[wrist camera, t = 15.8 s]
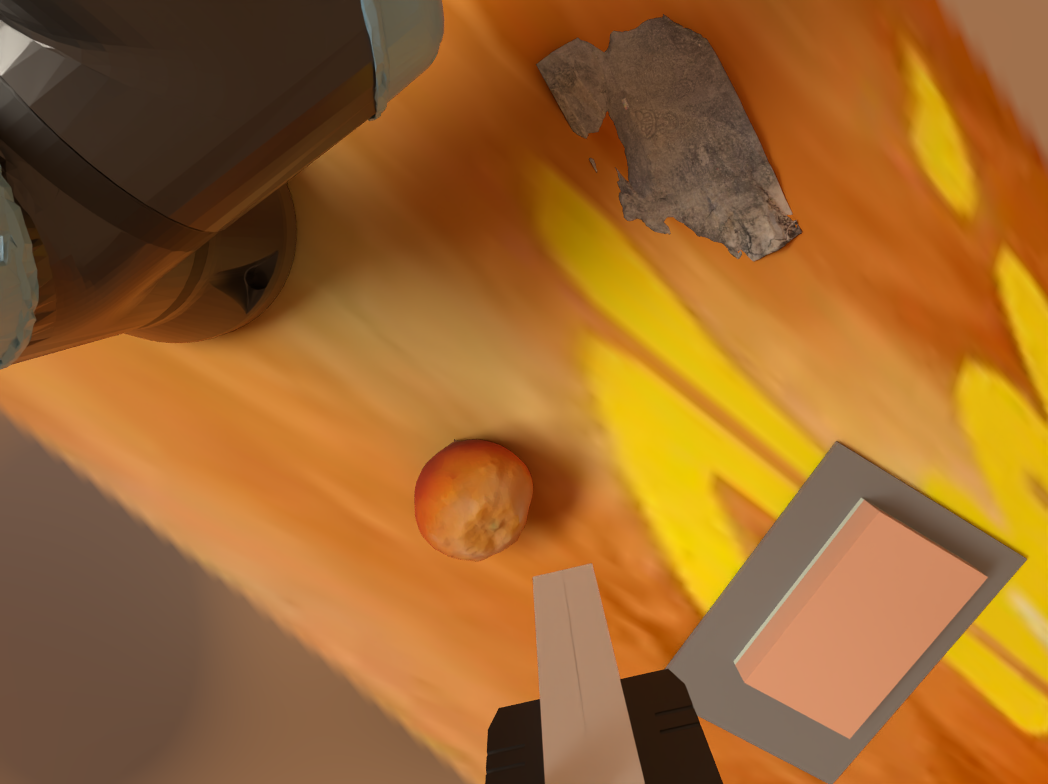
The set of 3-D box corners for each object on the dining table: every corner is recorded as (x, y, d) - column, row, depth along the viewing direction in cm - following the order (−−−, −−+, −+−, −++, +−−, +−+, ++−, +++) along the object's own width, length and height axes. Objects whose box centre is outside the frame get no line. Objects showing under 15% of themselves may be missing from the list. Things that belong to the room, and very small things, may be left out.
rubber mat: (829, 781, 54) (831, 785, 53) (650, 688, 51) (651, 691, 51) (1023, 556, 49) (1027, 559, 48) (836, 441, 46) (839, 442, 46)
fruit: (427, 399, 43) (475, 463, 37) (514, 428, 48) (569, 488, 42) (374, 496, 45) (412, 572, 39) (463, 514, 50) (509, 585, 44)
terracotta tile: (849, 739, 49) (988, 577, 46) (744, 682, 48) (879, 511, 44) (834, 715, 51) (965, 560, 48) (733, 661, 50) (861, 497, 47)
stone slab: (528, 69, 39) (671, -39, 37) (528, 74, 41) (665, -29, 39) (679, 314, 43) (813, 228, 42) (673, 309, 45) (802, 227, 43)
